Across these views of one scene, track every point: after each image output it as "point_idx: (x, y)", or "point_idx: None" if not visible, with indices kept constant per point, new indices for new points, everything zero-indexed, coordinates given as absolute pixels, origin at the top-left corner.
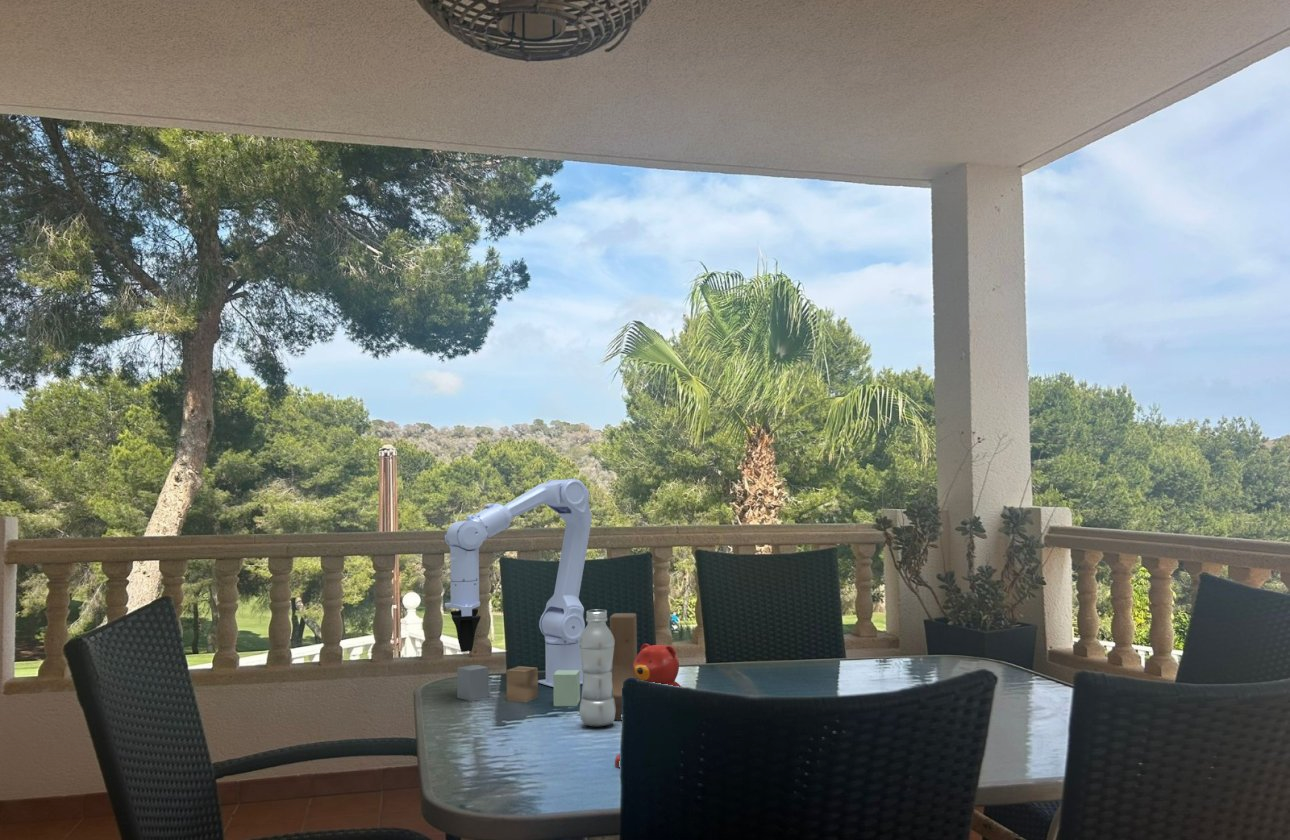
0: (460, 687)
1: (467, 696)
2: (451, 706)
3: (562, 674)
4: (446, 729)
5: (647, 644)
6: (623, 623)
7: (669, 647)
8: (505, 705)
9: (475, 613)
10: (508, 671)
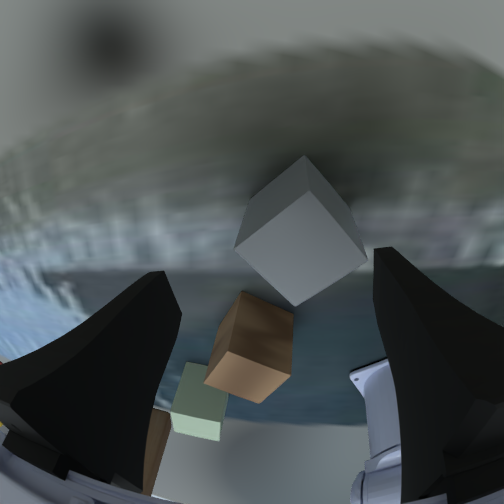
0: (290, 177)
1: (258, 195)
2: (175, 155)
3: (173, 420)
4: (3, 194)
5: None
6: None
7: None
8: (187, 288)
9: (403, 488)
10: (224, 352)
